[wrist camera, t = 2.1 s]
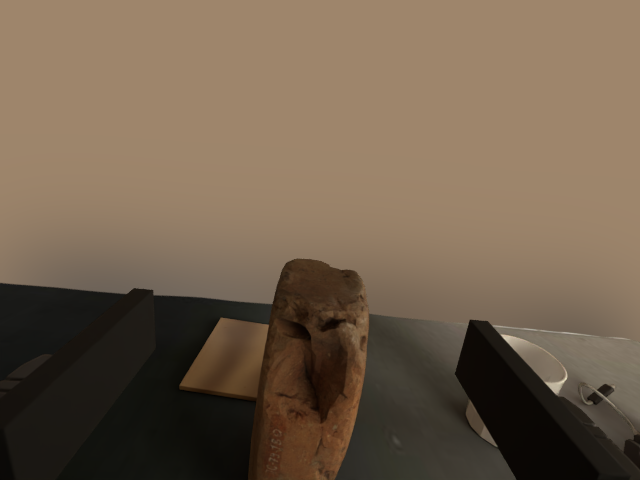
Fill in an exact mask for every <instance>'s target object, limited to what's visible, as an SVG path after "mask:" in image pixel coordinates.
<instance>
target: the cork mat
mask: <svg viewBox="0 0 640 480" xmlns="http://www.w3.org/2000/svg"><path fill="white" fill-rule="evenodd" d="M268 327H269V325H265V324H259V323H252V322H246V321H239V320H233V319H227V318H221V319H220V320H219V322H218V324H217V325H216V327H215V328H214V330H213V332H212V333H211V335H210V337H209V338H208V340H207V341H206V343H205V345H204V346H203V348H202V350H201V351H200V353H199V354H198V356H197V358H196V359H195V361H194V363H193V364H192V366H191V367H190V369H189V371H188V372H187V374H186V376H185V377H184V379H183V380H182V382H181V384H180V385H179V389H180V390H187V391H193V392H199V393H206V394H212V395H219V396H225V397H231V398H238V399H244V400H250V401H257V393H258V385H259V378H260V372H261V366H262V361H263V355H264V349H265V343H266V339H267V333H268Z"/></svg>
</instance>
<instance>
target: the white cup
mask: <svg viewBox="0 0 640 480" xmlns="http://www.w3.org/2000/svg"><path fill="white" fill-rule="evenodd" d="M500 335H501V336H502V337H503V338H504V339H505V340H506V342H507V343H508V344H509V345H510V346H511V347H512V348H513V349H514V350H515V351H516V352H517V353H518V354H519V355H520V357H521V358H522V359H523V360H524V361H525V362H526V363H527V364H528V365H529V366H530V367H531V368H532V369H533V370H534V372H535V373H536V374H537V375H538V376H539V377H540V378H541V379H542V380H543V381H544V382H545V383H546V384H547V385H548V387H549V388H550V389H551V390H552V391H553V392H554V393H555V394H556V395H557V394H558V393H559V391H560V389H561V387H562V386H563V384H564V382H565V381H566V379H567V372H566V370H565V368H564V366H563V365H562V364H561V363H560V362H559V361H558V360H557V359H556V358H555V357H554V356H553V355H551V354H550V353H549V352H547V351H546V350H544V349H542V348H541V347H539V346H537V345H535V344H533V343H531V342H529V341H526V340H524V339H521V338H518V337H514V336H510V335H504V334H500ZM466 417H467V419H468V421H469V424H470V426H471V427H472V428H473V429H474V430H475V431H476V432H477V433H478V435H479V436H480V437H482V438H483V439H485V440H486V441H488V442H489V443H491V444H492V445H494V446H496V447H497V445H496V443H495V442H494V440H493V438H492V437H491V435H490V433H489V431H488V430H487V428H486V426H485V425H484V423H483V421H482V419H481V418H480V416H479V414H478V413H477V411H476V409H475V408H474V406H473V404H472V402H471V401H470V399H469V401H468V404H467V408H466Z"/></svg>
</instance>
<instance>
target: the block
mask: <svg viewBox="0 0 640 480" xmlns="http://www.w3.org/2000/svg"><path fill="white" fill-rule="evenodd" d="M368 331H369V309H368V304H367V300H366V291H365V286H364V284H363V281H362V279H361V278H360V276H359V275H358V274H357V272H355V271H352V270H339V269H336V268H332V267H330V266H329V265H328V264H326V263H324V262H322V261H317V260H311V259H294V260H292V261H290V262H287V263H286V264H285V266H284V268H283V269H282V272H281V275H280V279H279V282H278V284H277V289H276V292H275V296H274V301H273V304H272V310H271V316H270V321H269V327H268V333H267V339H266V343H265V349H264V355H263V361H262V366H261V372H260V378H259V385H258V393H257V401H256V408H255V415H254V422H253V430H252V437H251V449H250V461H249V472H248V480H334V479H335V477H336V475H337V473H338V470H339V468H340V466H341V463H342V460H343V459H344V456H345V454H346V451H347V447H348V445H349V441H350V438H351V435H352V431H353V427H354V424H355V420H356V416H357V411H358V405H359V401H360V397H361V392H362V386H363V380H364V374H365V365H366V355H367V349H366V345H367V339H368Z"/></svg>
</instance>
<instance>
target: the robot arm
mask: <svg viewBox="0 0 640 480" xmlns="http://www.w3.org/2000/svg"><path fill="white" fill-rule="evenodd" d="M155 349H156V342H155V319H154V297H153V290H146V289H136V288H134V289H133V290H131V291H130V292H129V293H128V294H126V295H125V296H124V297H123V298H122V299H120V300H119V301H118V302H117V303H115V304H114V305H113V306H112V307H111V308H109V309H108V310H107V311H106V312H105V313H103V314H102V315H101V316H100V317H98V318H97V319H96V320H95V321H94V322H92V323H91V324H90V325H89V326H87V327H86V328H85V329H84V330H83V331H81V332H80V333H79V334H78V335H77V336H75V337H74V338H73V339H72V340H70V341H69V342H68V343H67V344H66V345H64V346H63V347H62V348H61V349H59V350H58V351H57V352H56V353H55V354H53V355H47V354H43V355H41V356H39V357H37V358H35V359H33V360H31V361H29V362H27V363H25V364H23V365H21V366H20V367H19V368H17V369H16V370H15V371H14V372H12V373H11V374H10V375H8V376H7V377H6V379H5V380H2V381H1V382H0V480H55V479H56V478H57V477H58V475H59V474H60V473H61V471H62V470H63V469H64V468H65V466H66V465H67V464H68V462H69V461H70V460H71V458H72V457H73V456H74V455H75V453H76V452H77V451H78V449H79V448H80V447H81V445H82V444H83V443H84V441H85V440H86V439H87V438H88V436H89V435H90V434H91V432H92V431H93V430H94V428H95V427H96V426H97V424H98V423H99V422H100V421H101V419H102V418H103V417H104V415H105V414H106V413H107V411H108V410H109V409H110V407H111V406H112V405H113V404H114V402H115V401H116V400H117V398H118V397H119V396H120V394H121V393H122V392H123V390H124V389H125V388H126V387H127V385H128V384H129V383H130V381H131V380H132V379H133V377H134V376H135V375H136V374H137V372H138V371H139V370H140V368H141V367H142V366H143V364H144V363H145V362H146V360H147V359H148V358H149V357H150V355H151V354H152V353H153V351H154V350H155ZM455 375H456V377H457V378H458V380H459V382H460V384H461V385H462V387H463V389H464V390H465V392H466V394H467V396H468V397H469V399H470V401H471V402H472V404H473V406H474V408H475V409H476V411H477V413H478V414H479V416H480V418H481V419H482V421H483V423H484V425H485V426H486V428H487V430H488V431H489V433H490V435H491V437H492V438H493V440H494V442H495V443H496V445H497V447H498V449H499V450H500V452H501V454H502V455H503V457H504V459H505V460H506V462H507V464H508V466H509V467H510V469H511V471H512V472H513V474H514V476H515V478H516V479H517V480H640V469H639V468H638V467H637V466H636V465H635V464H634V463H633V462H632V461H631V460H630V459H629V458H628V457H627V456H626V455H625V454H624V453H623V452H622V451H621V450H620V449H619V448H618V447H617V446H616V445H615V444H614V443H613V442H612V441H611V439H608V438H607V435H606V434H605V433H604V432H603V431H602V430H601V429H600V428H599V427H596V425H595V423H594V422H593V421H592V420H591V419H590V418H589V417H588V416H587V415H586V414H585V413H584V412H583V411H582V410H581V409H580V408H578V407H577V406H576V405H574V404H573V403H571V402H570V401H569V400H567V399H566V398H564V397H558V396H557V395H556V394H555V393H554V392H553V391H552V390H551V389H550V388H549V387H548V385H547V384H546V383H545V382H544V381H543V380H542V379H541V378H540V377H539V376H538V375H537V374H536V373H535V372H534V370H533V369H532V368H531V367H530V366H529V365H528V364H527V363H526V362H525V361H524V360H523V359H522V358H521V357H520V355H519V354H518V353H517V352H516V351H515V350H514V349H513V348H512V347H511V346H510V345H509V344H508V343H507V342H506V340H505V339H504V338H503V337H502V336H501V335H500V334H499V333H498V332H497V331H496V330H495V329H494V328H493V327H492V325H491V324H490V323H489V322H488V321H479V320H470V321H469V325H468V328H467V332H466V336H465V339H464V343H463V347H462V350H461V354H460V357H459V361H458V365H457V368H456V372H455Z"/></svg>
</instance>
